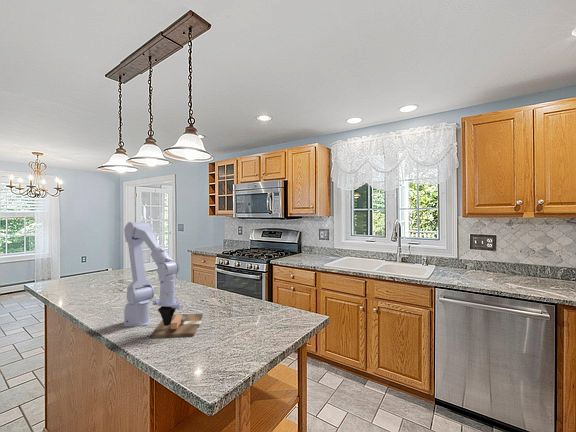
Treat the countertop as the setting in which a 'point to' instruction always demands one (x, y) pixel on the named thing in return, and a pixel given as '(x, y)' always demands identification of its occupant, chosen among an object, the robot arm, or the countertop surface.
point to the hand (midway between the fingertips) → (167, 324)
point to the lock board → (183, 330)
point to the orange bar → (177, 321)
